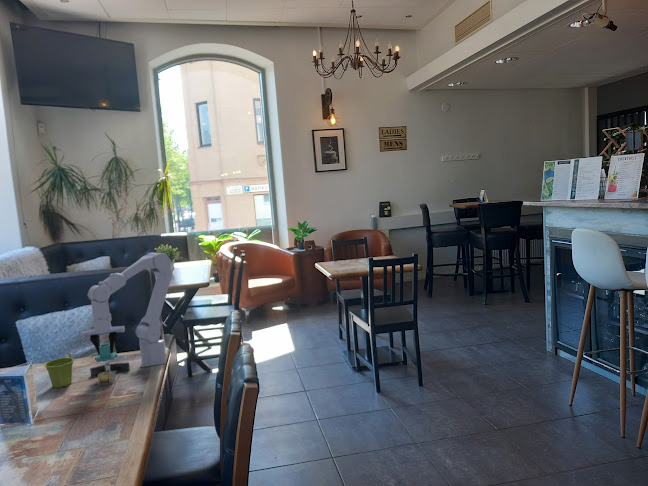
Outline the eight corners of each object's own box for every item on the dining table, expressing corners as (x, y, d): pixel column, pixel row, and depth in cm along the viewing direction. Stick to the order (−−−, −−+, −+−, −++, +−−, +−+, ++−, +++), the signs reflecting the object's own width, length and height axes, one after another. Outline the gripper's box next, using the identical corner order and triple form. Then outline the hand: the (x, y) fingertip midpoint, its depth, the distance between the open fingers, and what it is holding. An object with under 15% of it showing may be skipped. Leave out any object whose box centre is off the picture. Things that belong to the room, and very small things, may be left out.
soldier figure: (49, 374, 193) (56, 356, 203) (61, 379, 195) (67, 361, 206) (62, 360, 192) (67, 343, 202) (73, 366, 194) (78, 348, 205)
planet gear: (118, 353, 186) (117, 340, 186) (116, 359, 179) (114, 346, 179) (97, 356, 184) (95, 343, 184) (93, 363, 177) (92, 349, 177)
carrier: (130, 368, 190) (128, 356, 189) (125, 382, 176) (123, 368, 175) (91, 374, 186) (90, 361, 186) (83, 388, 172) (81, 374, 172)
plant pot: (82, 379, 181) (79, 356, 180) (66, 389, 172) (63, 366, 171) (58, 380, 182) (55, 357, 181) (41, 390, 173) (38, 367, 172)
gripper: (124, 312, 186) (128, 347, 187) (82, 317, 182) (86, 353, 183) (121, 316, 179) (125, 352, 181) (78, 322, 175) (83, 358, 177)
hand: (106, 353), depth 182 cm, fingers closed on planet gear, 4 cm apart
